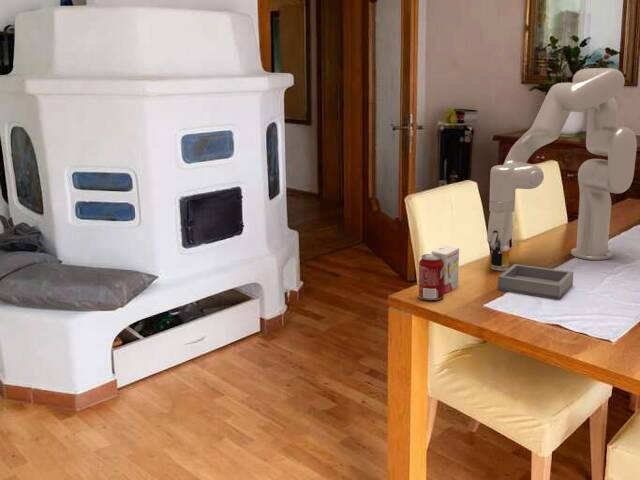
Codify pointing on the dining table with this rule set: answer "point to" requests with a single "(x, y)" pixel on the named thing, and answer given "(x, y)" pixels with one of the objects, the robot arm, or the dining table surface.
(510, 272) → the tray
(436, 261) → the soda can
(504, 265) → the pill bottle
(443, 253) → the ink box
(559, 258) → the dining table surface
